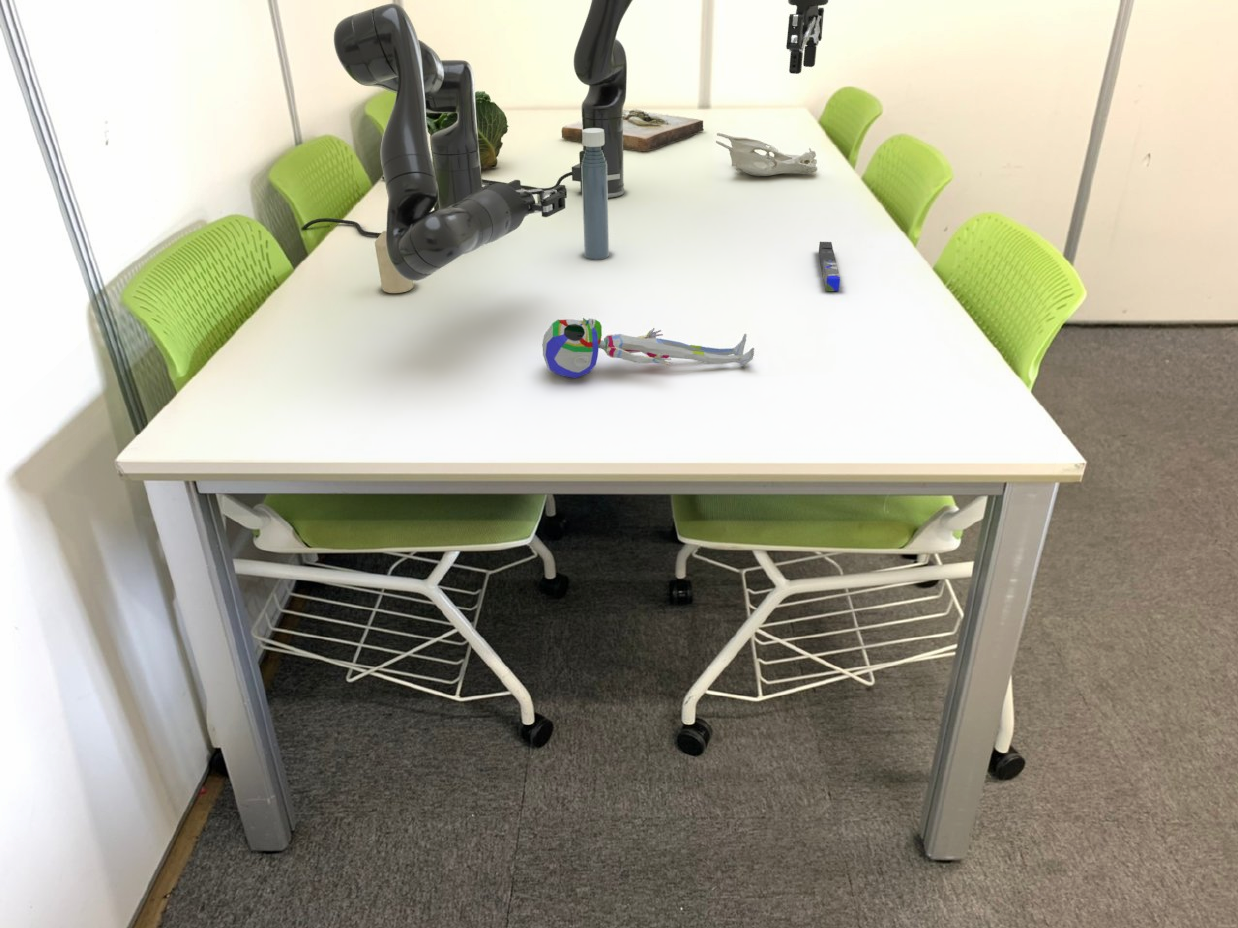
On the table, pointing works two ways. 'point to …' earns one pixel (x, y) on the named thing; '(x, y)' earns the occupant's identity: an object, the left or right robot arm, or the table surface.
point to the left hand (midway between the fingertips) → (541, 188)
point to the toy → (622, 348)
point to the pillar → (829, 266)
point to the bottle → (595, 204)
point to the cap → (593, 137)
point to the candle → (389, 269)
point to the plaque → (645, 129)
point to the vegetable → (478, 127)
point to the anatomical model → (766, 158)
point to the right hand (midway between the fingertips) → (802, 70)
